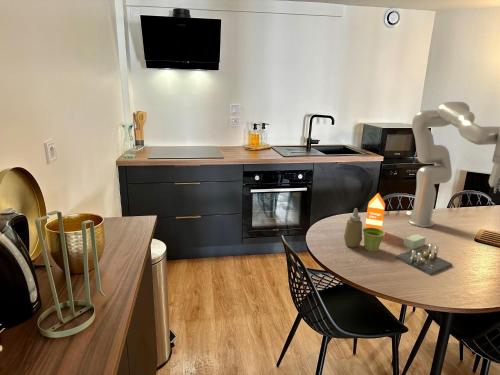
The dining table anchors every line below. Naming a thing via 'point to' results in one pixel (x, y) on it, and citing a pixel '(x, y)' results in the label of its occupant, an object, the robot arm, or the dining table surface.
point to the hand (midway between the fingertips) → (493, 199)
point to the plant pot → (372, 238)
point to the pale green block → (414, 241)
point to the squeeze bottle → (353, 230)
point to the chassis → (424, 260)
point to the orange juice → (375, 212)
